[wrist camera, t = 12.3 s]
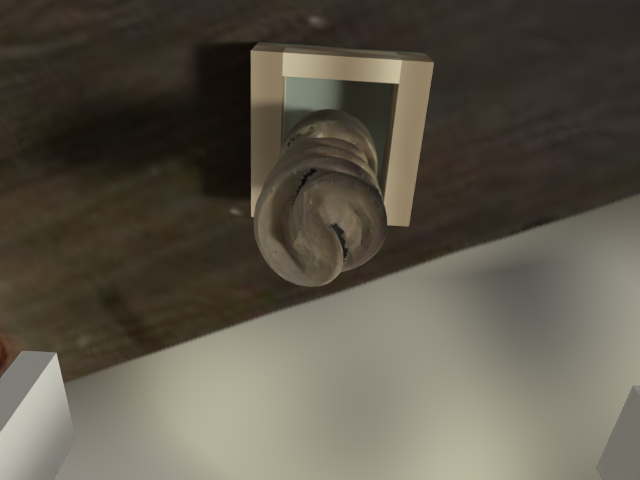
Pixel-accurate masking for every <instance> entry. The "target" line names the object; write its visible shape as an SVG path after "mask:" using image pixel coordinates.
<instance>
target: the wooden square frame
mask: <svg viewBox="0 0 640 480" xmlns="http://www.w3.org/2000/svg"><path fill="white" fill-rule="evenodd" d="M433 65H434V62H433V61H432V60H431V59H430V58H429V57H428V56H427V55H426V54H425V53H418V52H403V51H388V50H372V49H357V48H342V47H326V46H311V45H296V44H280V43H265V42H258V43H257V44H256V45H255V47H254V48H253V49H252V50H251V217H254V212H255V206H256V202H257V199H258V197H259V195H260V194H261V191H262V188H263V186H264V183H265V181H266V179H267V177H268V176H269V174H270V173H271V171H272V170H273V168H274V166H275V164H276V163H277V162H278V159H279V155H280V151H281V148H282V146H283V143H284V141H285V138H286V137H287V135H288V133H289V131H290V129H291V128H292V127H293V126H294V125H295V123H297V122H298V121H299V120H300V119H301V118H302V117H304V116H306V115H308V114H309V113H311V112H314V111H318V110H323V109H335V110H340V111H343V112H347V113H349V114H350V115H352V116H353V117H355V118H357V119H358V120H359V121H360V122H361V123H362V124H363V125H365V127H366V128H367V129H368V131H369V133H370V135H371V138H372V140H373V143H374V146H375V149H376V153H377V163H378V171H377V177H376V179H377V181H378V186H379V187H380V191H381V194H382V197H383V203H384V205H385V210H386V214H387V225H394V226H409V221H410V215H411V208H412V202H413V195H414V189H415V182H416V176H417V169H418V163H419V156H420V150H421V143H422V137H423V130H424V124H425V117H426V111H427V104H428V98H429V91H430V85H431V78H432V72H433Z"/></svg>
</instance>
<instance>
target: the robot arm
mask: <svg viewBox="0 0 640 480" xmlns="http://www.w3.org/2000/svg"><path fill="white" fill-rule="evenodd" d="M75 439H76V438H75V434H74V429H73V425H72V420H71V416H70V412H69V407H68V402H67V398H66V394H65V390H64V385H63V380H62V376H61V371H60V367H59V362H58V358H57V353H52V352H35V351H22V352H21V353H20V354H19V355H18V357H17V358H16V359H15V360H14V362H13V363H12V364H11V365H10V367H9V368H8V369H7V371H6V372H5V373H4V374H3V376H2V377H1V378H0V480H54V479H55V477H56V475H57V473H58V471H59V469H60V467H61V466H62V464H63V462H64V460H65V458H66V456H67V454H68V452H69V451H70V449H71V447H72V445H73V443H74V441H75ZM596 468H597V470H598V472H599V474H600V476H601V478H602V480H640V386H633V387H632V389H631V391H630V393H629V395H628V398H627V400H626V402H625V404H624V407H623V409H622V411H621V413H620V416H619V418H618V420H617V422H616V424H615V427H614V429H613V431H612V434H611V436H610V438H609V440H608V443H607V444H606V447H605V449H604V451H603V454H602V456H601V458H600V460H599V462H598V465H597V467H596Z"/></svg>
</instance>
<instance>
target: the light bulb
mask: <svg viewBox="0 0 640 480" xmlns="http://www.w3.org/2000/svg"><path fill="white" fill-rule="evenodd" d="M377 171H378V163H377V153H376V149H375V146H374V143H373V140H372V138H371V135H370V133H369V131H368V129H367V128H366V127H365V125H363V124H362V123H361V122H360V121H359V120H358V119H357V118H355V117H353V116H352V115H350V114H349V113H347V112H343V111H340V110H335V109H323V110H318V111H314V112H311V113H309V114H308V115H306V116H304V117H302V118H301V119H300V120H299V121H298V122H297V123H295V125H294V126H293V127H292V128H291V129H290V131H289V133H288V135H287V137H286V138H285V141H284V143H283V146H282V148H281V151H280V155H279V159H278V162H277V163H276V164H275V166H274V168H273V170H272V171H271V173H270V174H269V176H268V177H267V179H266V181H265V183H264V186H263V188H262V191H261V194H260V195H259V197H258V199H257V202H256V206H255V212H254V233H255V239H256V242H257V245H258V247H259V249H260V251H261V253H262V256H263V257H264V259H265V260H266V262H267V263H268V265H269V266H270V267H271V268H272V269H273V270H274V271H275V272H276V273H277V274H278V275H280V276H281V277H283V278H284V279H286V280H287V281H290V282H292V283H294V284H297V285H301V286H306V287H313V286H321V285H324V284H327V283H329V282H331V281H332V280H333V279H334V278H335V277H337V276H338V275H339V273H340V272H343V271H348V270H351V269H353V268H356V267H358V266H360V265H362V264H364V263H365V262H367V261H368V260H369V259H371V258H372V257H373V256H374V255H375V254H376V253H377V252H378V251H379V249H380V248H381V246H382V245H383V243H384V240H385V237H386V233H387V214H386V210H385V205H384V203H383V197H382V194H381V191H380V187H379V186H378V181H377V179H376V177H377Z"/></svg>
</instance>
